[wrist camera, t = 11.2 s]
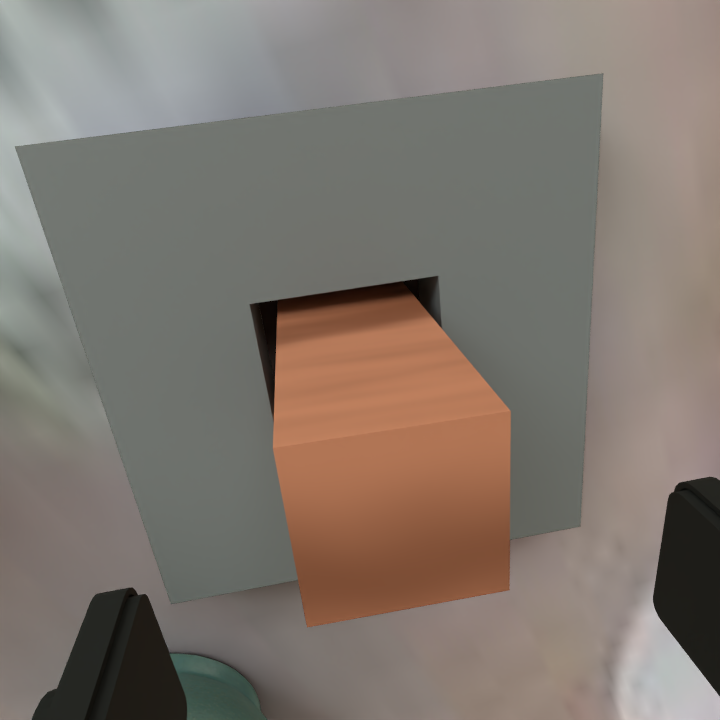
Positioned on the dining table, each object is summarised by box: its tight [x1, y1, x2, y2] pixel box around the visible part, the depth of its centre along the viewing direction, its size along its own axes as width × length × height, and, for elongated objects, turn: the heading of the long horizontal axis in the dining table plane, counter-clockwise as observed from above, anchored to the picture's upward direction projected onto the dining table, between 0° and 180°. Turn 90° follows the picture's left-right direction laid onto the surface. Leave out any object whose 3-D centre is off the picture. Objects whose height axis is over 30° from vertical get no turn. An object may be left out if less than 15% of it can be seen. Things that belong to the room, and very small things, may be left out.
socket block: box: [15, 73, 603, 604], centre depth 22 cm, size 18×18×4 cm
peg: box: [273, 281, 511, 627], centre depth 18 cm, size 5×5×12 cm
